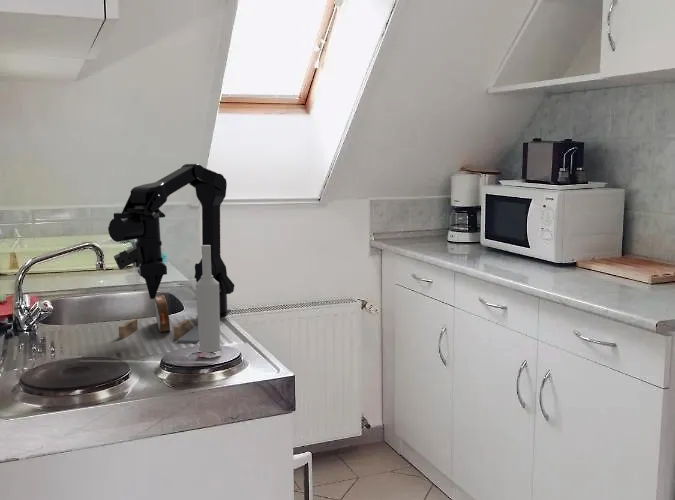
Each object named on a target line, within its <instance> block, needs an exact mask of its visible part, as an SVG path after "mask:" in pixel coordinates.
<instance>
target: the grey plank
mask: <svg viewBox="0 0 675 500" xmlns="http://www.w3.org/2000/svg"><path fill="white" fill-rule="evenodd" d="M176 342H177V344H178V343H179V344H181V343H183V344H185V343H186V344H199V330H198V324H197V325H196V326H194V327H193V328H192V329H190V331H188V332H187V333H186V334H185V335H184V336H182V337H181V338H180V339H176Z"/></svg>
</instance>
